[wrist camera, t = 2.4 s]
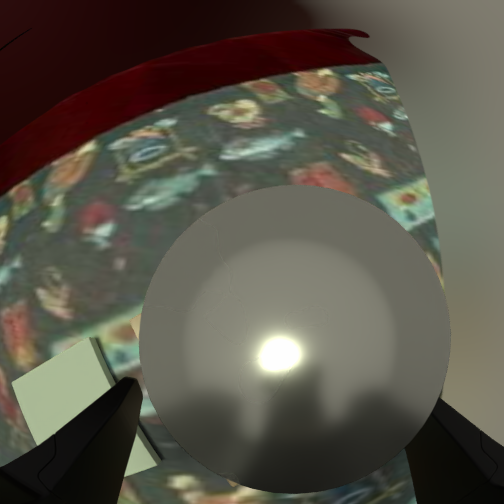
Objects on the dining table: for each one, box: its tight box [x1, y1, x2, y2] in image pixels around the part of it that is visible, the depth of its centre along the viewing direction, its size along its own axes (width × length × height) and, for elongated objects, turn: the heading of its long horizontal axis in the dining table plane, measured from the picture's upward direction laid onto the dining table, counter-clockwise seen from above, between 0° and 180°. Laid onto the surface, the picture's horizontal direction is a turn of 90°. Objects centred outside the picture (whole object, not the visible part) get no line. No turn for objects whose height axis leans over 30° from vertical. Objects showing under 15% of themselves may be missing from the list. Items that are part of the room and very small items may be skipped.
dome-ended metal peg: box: [139, 185, 451, 494], centre depth 11 cm, size 5×5×15 cm
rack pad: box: [12, 337, 161, 477], centre depth 15 cm, size 10×10×1 cm
